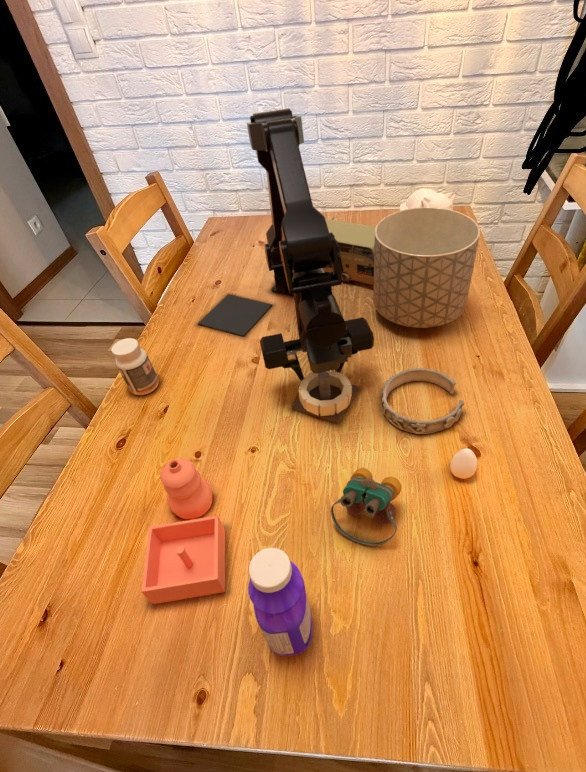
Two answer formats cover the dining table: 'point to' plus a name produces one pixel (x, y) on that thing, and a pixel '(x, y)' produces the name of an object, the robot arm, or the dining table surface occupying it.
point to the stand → (325, 397)
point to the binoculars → (369, 500)
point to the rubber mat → (235, 315)
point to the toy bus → (354, 250)
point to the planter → (424, 265)
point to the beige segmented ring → (326, 405)
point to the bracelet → (415, 425)
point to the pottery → (185, 541)
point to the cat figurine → (429, 200)
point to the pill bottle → (135, 366)
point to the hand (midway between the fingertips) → (319, 378)
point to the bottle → (280, 602)
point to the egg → (464, 463)
